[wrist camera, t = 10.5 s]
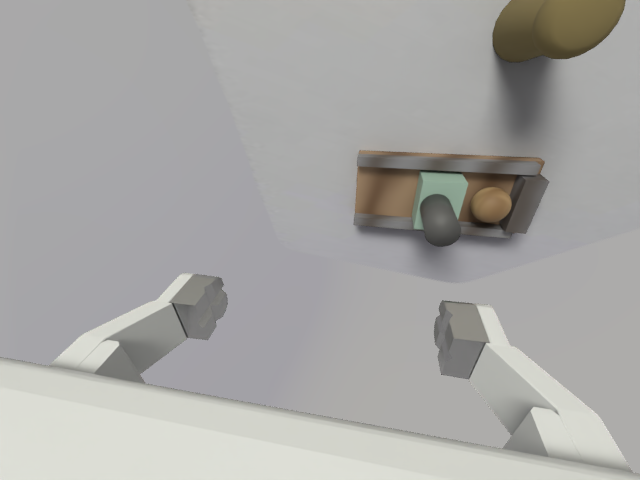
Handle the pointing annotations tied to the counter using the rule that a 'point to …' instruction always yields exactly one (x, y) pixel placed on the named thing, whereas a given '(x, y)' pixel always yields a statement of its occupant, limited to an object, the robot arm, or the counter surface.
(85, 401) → the robot arm
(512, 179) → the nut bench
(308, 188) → the counter surface
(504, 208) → the walnut
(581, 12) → the cork
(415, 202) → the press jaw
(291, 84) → the counter surface
